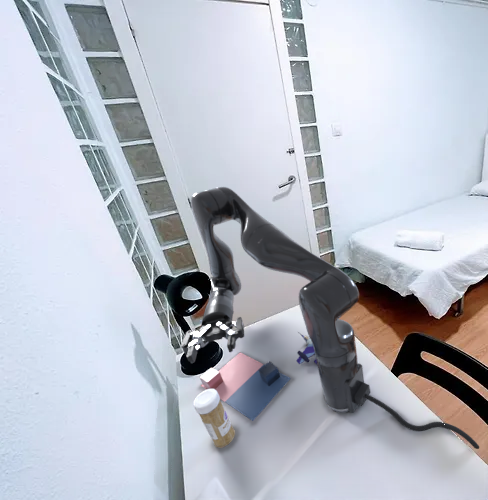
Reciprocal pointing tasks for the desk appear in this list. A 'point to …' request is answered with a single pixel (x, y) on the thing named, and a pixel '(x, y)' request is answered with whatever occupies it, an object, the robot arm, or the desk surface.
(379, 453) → the desk surface
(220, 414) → the sprinkles bottle
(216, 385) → the pink block
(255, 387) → the sorting board
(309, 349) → the toy airplane
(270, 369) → the blue block
